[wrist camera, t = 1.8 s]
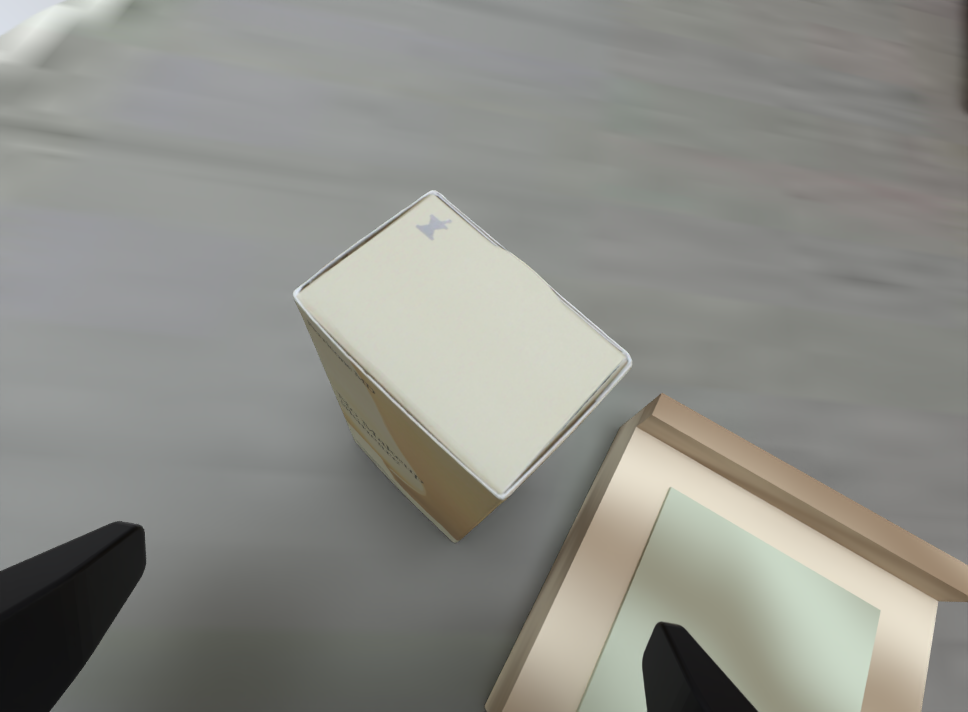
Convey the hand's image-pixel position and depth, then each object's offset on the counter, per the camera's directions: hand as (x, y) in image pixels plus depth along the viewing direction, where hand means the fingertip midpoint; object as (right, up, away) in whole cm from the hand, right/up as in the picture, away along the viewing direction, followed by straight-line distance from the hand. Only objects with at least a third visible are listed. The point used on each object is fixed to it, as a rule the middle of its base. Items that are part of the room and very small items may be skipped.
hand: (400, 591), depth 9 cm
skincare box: (0, 0, +13) cm, 13 cm away
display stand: (+10, -7, +11) cm, 16 cm away
